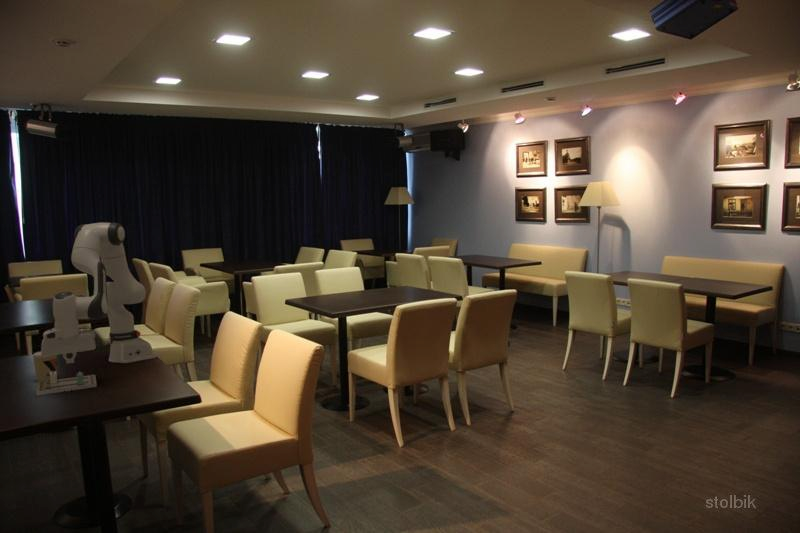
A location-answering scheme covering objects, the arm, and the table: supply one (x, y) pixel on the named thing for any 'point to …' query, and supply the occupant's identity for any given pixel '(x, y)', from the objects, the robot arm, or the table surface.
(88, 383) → the console
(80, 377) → the fader
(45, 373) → the coffee cup
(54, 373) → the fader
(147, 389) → the table surface
